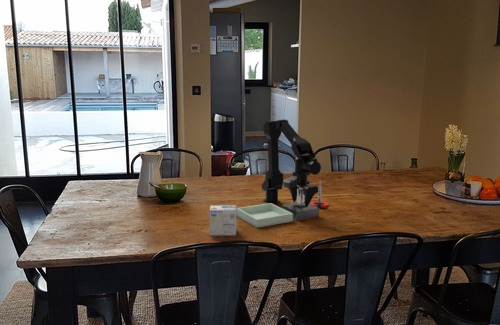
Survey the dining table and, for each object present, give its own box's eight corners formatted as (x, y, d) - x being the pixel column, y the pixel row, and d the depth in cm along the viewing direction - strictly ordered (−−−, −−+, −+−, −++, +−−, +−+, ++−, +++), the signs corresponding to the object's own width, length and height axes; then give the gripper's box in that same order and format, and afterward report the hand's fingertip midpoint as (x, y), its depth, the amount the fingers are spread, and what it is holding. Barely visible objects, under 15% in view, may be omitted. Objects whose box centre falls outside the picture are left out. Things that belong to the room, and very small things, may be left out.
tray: (236, 215, 221) (236, 208, 220) (270, 210, 230) (270, 203, 229) (256, 227, 206) (256, 219, 205) (292, 221, 214) (292, 213, 214)
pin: (294, 214, 224) (295, 188, 221) (300, 213, 225) (301, 187, 223) (299, 216, 221) (299, 190, 219) (304, 215, 223) (305, 189, 220)
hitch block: (281, 213, 226) (281, 204, 225) (302, 209, 231) (303, 201, 231) (296, 220, 215) (296, 211, 215) (318, 216, 221) (319, 208, 220)
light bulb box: (236, 230, 203) (236, 204, 200) (236, 235, 196) (236, 209, 194) (210, 230, 202) (210, 204, 200) (209, 235, 196) (209, 209, 193)
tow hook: (310, 203, 244) (310, 207, 235) (311, 177, 242) (311, 181, 233) (328, 204, 242) (328, 208, 233) (329, 178, 240) (329, 182, 231)
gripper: (274, 167, 223) (273, 201, 226) (298, 176, 207) (297, 212, 210) (295, 165, 229) (294, 198, 232) (319, 173, 213) (318, 208, 216)
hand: (300, 204), depth 222 cm, fingers open, 9 cm apart
